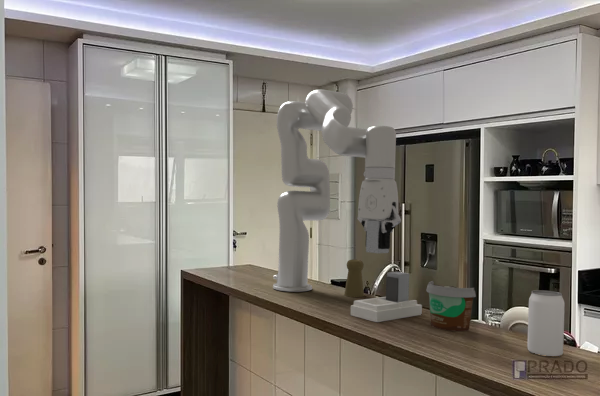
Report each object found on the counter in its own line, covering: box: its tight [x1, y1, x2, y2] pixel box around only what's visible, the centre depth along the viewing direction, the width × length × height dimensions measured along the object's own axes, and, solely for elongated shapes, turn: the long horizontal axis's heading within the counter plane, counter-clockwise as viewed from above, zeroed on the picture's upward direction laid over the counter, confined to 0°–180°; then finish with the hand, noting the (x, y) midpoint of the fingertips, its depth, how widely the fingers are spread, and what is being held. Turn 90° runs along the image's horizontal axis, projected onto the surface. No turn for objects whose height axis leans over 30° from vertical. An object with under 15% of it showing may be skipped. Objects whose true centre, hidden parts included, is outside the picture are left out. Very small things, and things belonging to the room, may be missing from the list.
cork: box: [343, 258, 365, 298], centre depth 163 cm, size 6×6×11 cm
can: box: [526, 289, 565, 357], centre depth 106 cm, size 6×6×12 cm
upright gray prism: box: [365, 220, 391, 254], centre depth 134 cm, size 4×4×8 cm
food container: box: [426, 280, 477, 332], centre depth 124 cm, size 12×6×10 cm, turn 40°
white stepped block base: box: [350, 271, 423, 323], centre depth 136 cm, size 9×17×10 cm, turn 129°
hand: (377, 247), depth 134 cm, fingers closed on upright gray prism, 4 cm apart
